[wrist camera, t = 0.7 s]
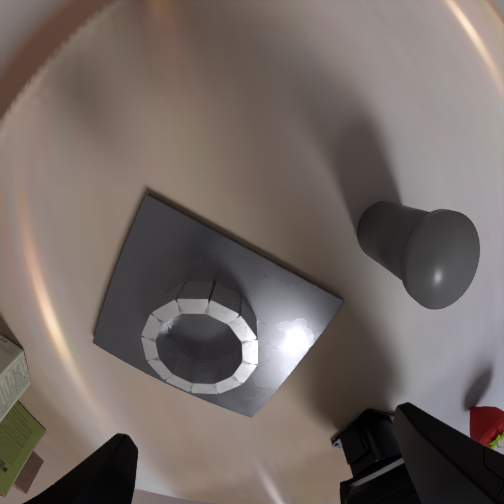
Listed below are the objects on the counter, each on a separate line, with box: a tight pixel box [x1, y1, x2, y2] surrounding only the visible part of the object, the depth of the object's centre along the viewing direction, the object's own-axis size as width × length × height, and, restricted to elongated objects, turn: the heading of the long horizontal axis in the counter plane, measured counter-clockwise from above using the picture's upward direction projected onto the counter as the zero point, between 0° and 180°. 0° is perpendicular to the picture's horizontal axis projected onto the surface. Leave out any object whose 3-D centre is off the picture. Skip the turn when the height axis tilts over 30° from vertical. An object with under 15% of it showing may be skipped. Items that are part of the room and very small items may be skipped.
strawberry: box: [470, 406, 504, 449], centre depth 21 cm, size 6×8×10 cm
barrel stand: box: [93, 194, 344, 418], centre depth 19 cm, size 16×14×4 cm
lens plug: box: [358, 202, 480, 309], centre depth 16 cm, size 5×5×8 cm
